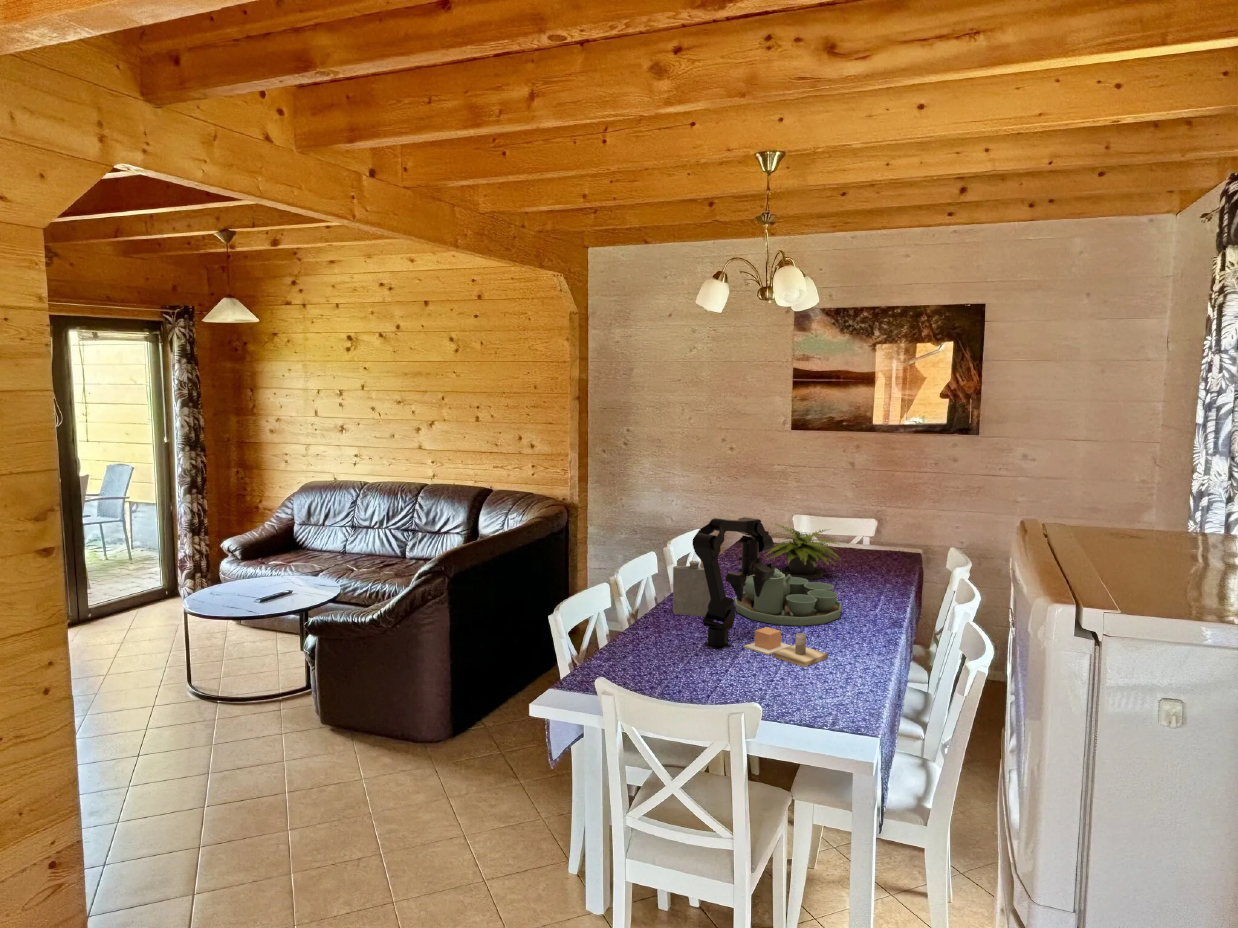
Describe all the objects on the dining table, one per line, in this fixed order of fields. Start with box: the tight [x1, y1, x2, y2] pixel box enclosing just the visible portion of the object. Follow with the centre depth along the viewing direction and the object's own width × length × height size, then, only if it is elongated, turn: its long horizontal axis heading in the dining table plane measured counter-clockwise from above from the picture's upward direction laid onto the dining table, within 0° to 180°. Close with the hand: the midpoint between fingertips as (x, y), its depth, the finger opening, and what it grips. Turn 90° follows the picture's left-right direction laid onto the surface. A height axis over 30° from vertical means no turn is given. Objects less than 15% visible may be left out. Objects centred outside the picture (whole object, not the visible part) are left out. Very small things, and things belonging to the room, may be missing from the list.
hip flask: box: [672, 560, 711, 617], centre depth 308 cm, size 16×4×20 cm, turn 76°
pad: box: [743, 641, 793, 656], centre depth 272 cm, size 12×10×1 cm
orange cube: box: [754, 626, 782, 650], centre depth 271 cm, size 6×6×5 cm
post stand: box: [772, 632, 829, 668], centre depth 262 cm, size 12×12×8 cm
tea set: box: [733, 567, 843, 627], centre depth 313 cm, size 40×40×16 cm
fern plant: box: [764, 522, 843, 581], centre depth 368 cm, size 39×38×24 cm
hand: (749, 598), depth 285 cm, fingers open, 9 cm apart
